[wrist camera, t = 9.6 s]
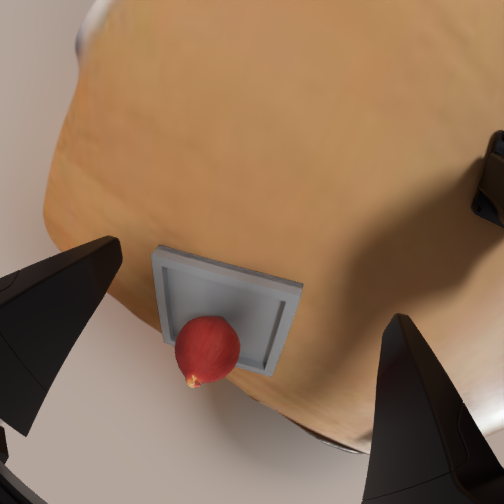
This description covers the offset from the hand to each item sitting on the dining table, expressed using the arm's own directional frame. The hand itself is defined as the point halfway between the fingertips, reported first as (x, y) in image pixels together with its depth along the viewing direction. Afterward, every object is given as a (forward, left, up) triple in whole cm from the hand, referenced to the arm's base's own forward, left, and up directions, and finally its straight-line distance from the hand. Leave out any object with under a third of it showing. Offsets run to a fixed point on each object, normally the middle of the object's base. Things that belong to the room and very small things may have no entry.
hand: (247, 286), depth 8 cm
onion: (+4, +16, -12) cm, 20 cm away
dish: (+4, +16, -12) cm, 20 cm away
